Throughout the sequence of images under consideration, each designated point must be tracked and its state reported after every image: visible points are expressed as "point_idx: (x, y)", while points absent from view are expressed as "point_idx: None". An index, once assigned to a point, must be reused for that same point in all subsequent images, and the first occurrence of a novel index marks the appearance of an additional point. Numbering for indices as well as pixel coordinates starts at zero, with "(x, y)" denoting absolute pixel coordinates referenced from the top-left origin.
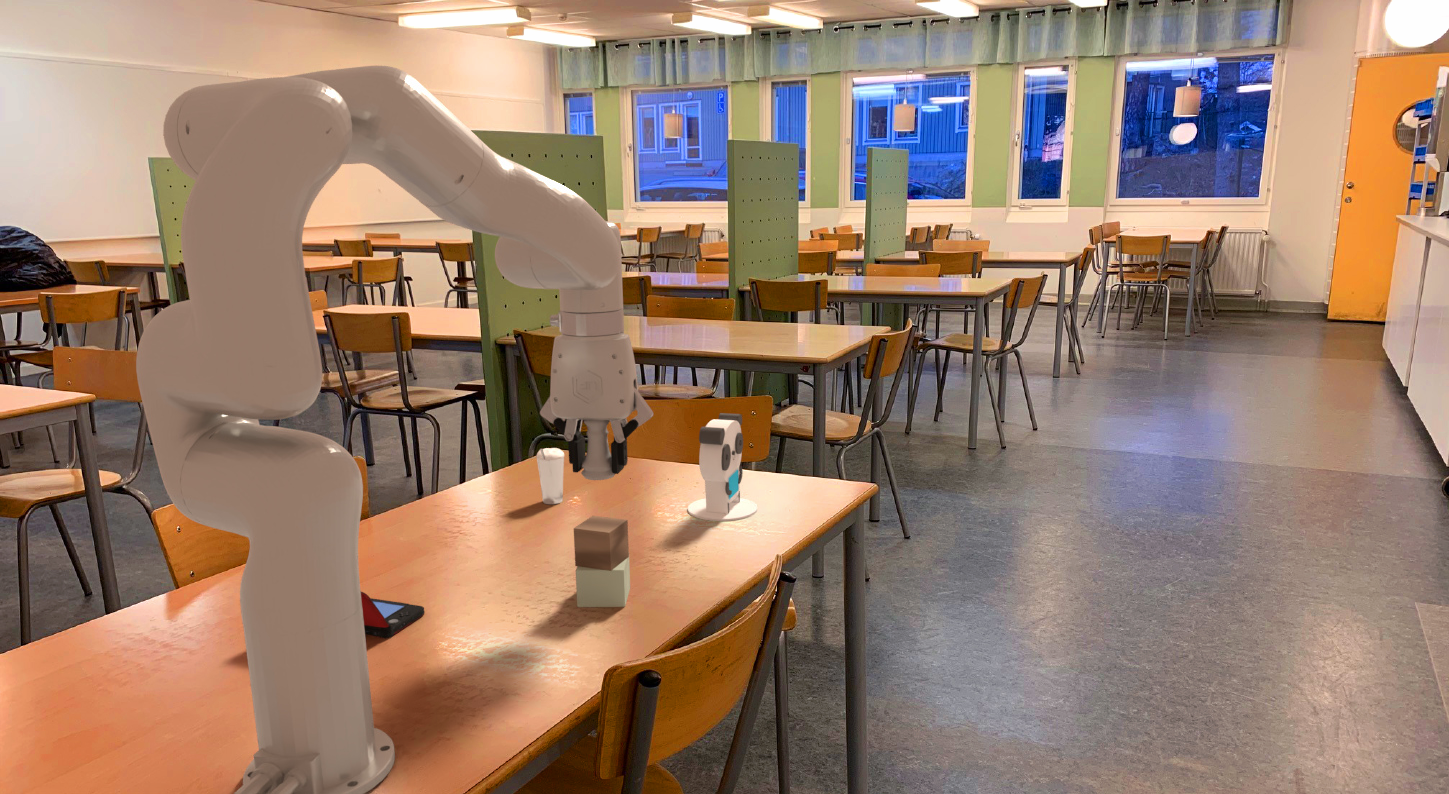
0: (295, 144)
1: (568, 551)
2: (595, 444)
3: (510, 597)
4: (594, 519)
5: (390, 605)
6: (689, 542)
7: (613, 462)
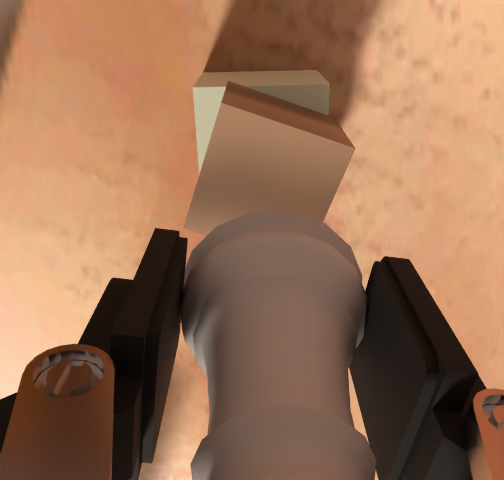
0: None
1: None
2: (286, 361)
3: (479, 124)
4: None
5: None
6: None
7: (164, 258)
